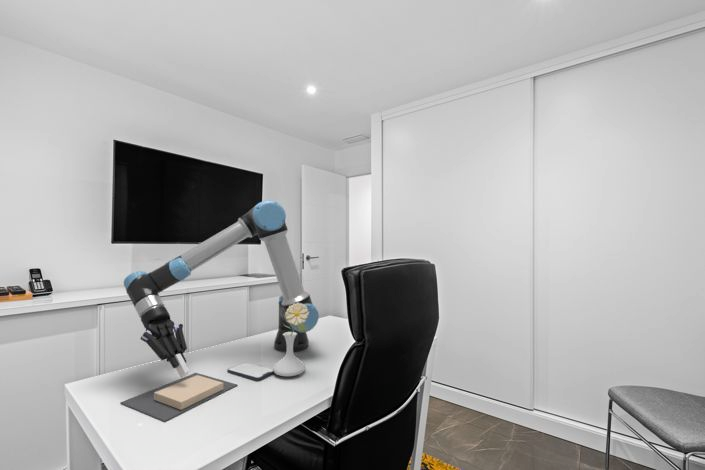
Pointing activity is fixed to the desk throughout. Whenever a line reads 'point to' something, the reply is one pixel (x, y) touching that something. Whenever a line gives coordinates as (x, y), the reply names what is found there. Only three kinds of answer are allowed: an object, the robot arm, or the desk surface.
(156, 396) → the tile
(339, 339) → the desk surface
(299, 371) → the flower in vase
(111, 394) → the desk surface
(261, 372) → the smartphone
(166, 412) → the mat
